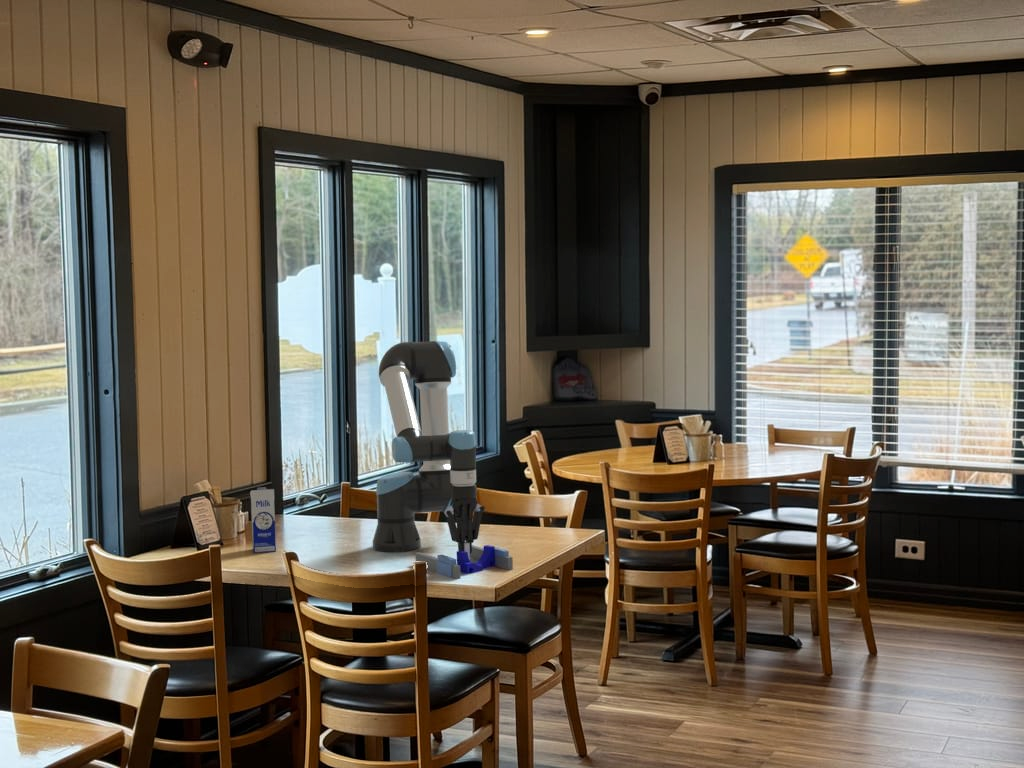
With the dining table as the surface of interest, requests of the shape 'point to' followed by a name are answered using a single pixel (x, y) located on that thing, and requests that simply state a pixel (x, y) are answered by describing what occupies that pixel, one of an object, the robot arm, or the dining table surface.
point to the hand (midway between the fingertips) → (465, 564)
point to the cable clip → (482, 563)
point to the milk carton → (263, 520)
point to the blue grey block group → (452, 570)
